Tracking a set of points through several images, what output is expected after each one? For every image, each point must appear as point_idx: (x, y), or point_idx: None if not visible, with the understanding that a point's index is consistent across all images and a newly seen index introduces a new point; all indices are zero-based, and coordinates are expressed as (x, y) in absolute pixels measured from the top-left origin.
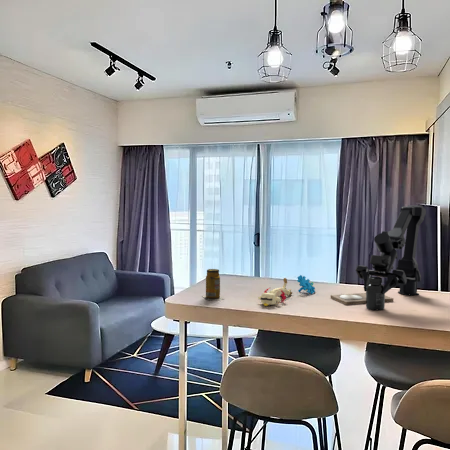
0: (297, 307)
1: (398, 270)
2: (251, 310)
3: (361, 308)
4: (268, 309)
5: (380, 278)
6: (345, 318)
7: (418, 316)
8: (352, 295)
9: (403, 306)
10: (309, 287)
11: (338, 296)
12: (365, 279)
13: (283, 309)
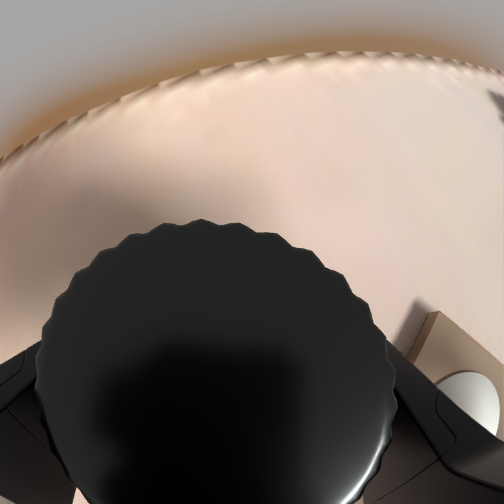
0: (489, 138)
1: None
2: (492, 75)
3: None
4: (491, 92)
5: (43, 361)
6: (284, 80)
7: (12, 318)
8: None
9: None
10: None
11: (501, 401)
12: (448, 423)
13: (482, 102)
